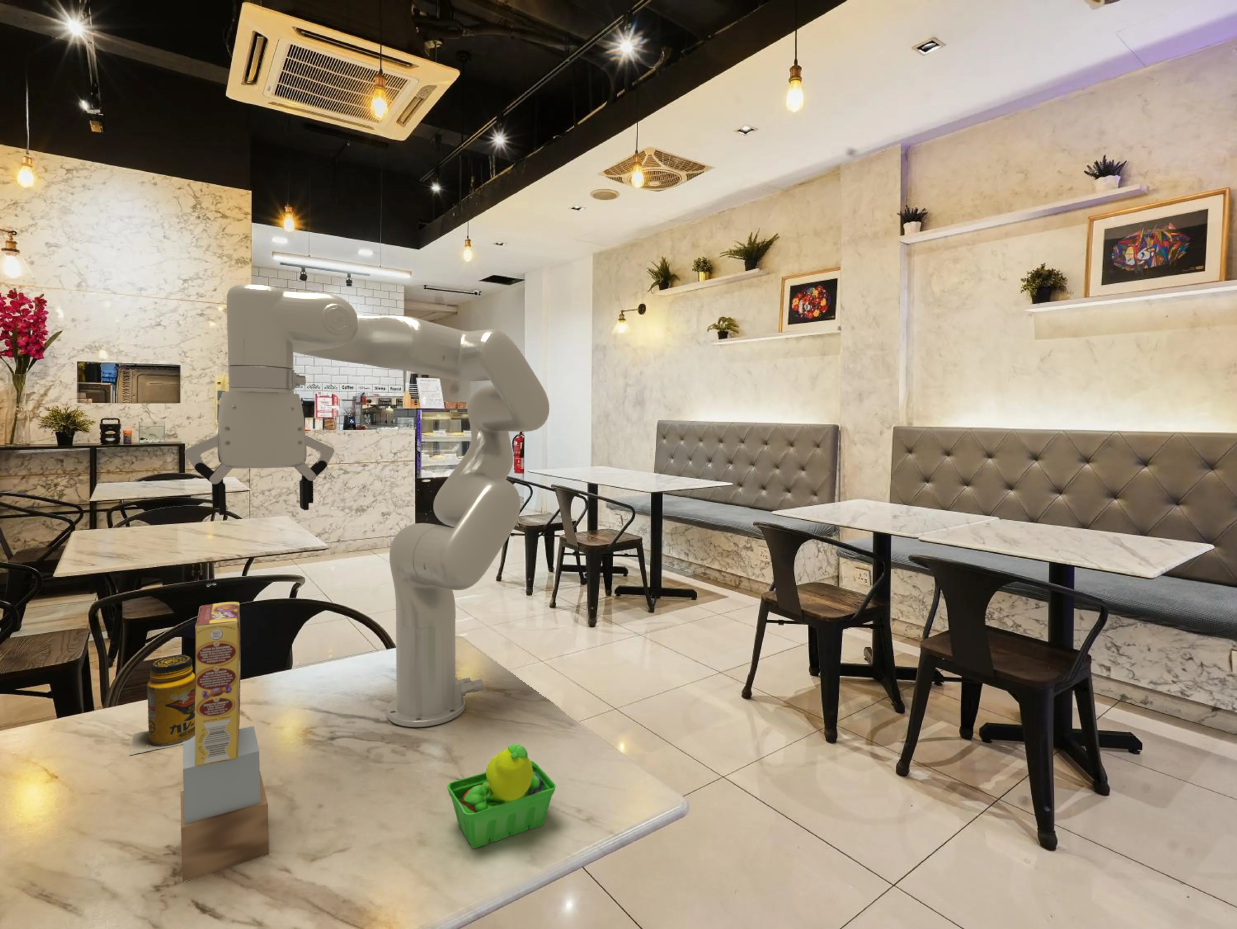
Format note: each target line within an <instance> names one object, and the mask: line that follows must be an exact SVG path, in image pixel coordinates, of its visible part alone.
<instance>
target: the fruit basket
mask: <svg viewBox="0 0 1237 929" xmlns="http://www.w3.org/2000/svg"><path fill="white" fill-rule="evenodd" d="M528 756H529V755H528V751H527V749H526V748H525V747H524V746H522V745H521V744H517V743H512V744H510V745H509V746H508V747H507V748H504V749H503V750H502V751H500V752H498V753H496V755H495V756H493V757H492V758H491V759H490V760H489V762H488V764H487V767H486V771H485V772H482V773H478V774H475V775H473V776H468V777H465V778H464V777H463V778H461V779H457V780H454V781H451V782H449V783H448V784H447V786H446V787H447V790H448V795H449V796H450V798H451V802H452V804H453V809H454V812H455V815H456V816H455V817H456V820H457V824H458V827H459V828H460V829H461V830H462V833H463V835H464V837H465V838H466V840H467V841H468V842H469V843H470V846H471V848H472V849H478V848H480V847H484V846H486V845H488V844H489V843H495V842H497V841H500V840H503V839H506V838H507V837H509V836H515V835H518V834H521V833H524V832H526V831H527V830H528V829H529V830H531V829H535V828H538V827H541V826H543V825H544V824H545V821H546V817H547V814H548V810H549V806H550V803H551V799H552V796H553V795H554V793H555V791H556V787H557V786H556V783H555V782H554V781H552V779H551V778H550V777H549V775H547V774H546V772H544V770H543V769H542V767H540V766H539V765H538V764H537V763H536V762H534V761H533V760H531V759H530V758H529V757H528Z"/></svg>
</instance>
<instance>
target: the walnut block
mask: <svg viewBox="0 0 1237 929" xmlns="http://www.w3.org/2000/svg"><path fill="white" fill-rule="evenodd" d="M179 796H180V839H181V840H180V844H181V868H182V869H181V872H182V873H181V875H182V880H181V881H182V883H184V881H185V882H188V881H190V879H191V880H194V879H196V878H199V877H202V876H206V875H210V874H212V873H215V872H218V871H220V870H224V869H227V868H230V867H233V866H236V865H239V864H242V863H246V862H249V861H251V860H255V859H258V858H261V857H264V856H267V855H269V854H270V847H269V846H270V843H269V842H270V841H269V840H270V839H269V838H270V837H269V836H270V835H269V802H268V798H267V794H266V791H265V785H264V782H263V777H262V774H261V772H260V803H259V804H256V805H252V806H248V807H245V808H241V809H238V810H234V811H231V812H227V813H223V814H220V815H216V816H213V817H209V818H205V819H202V820H198V821H195V822H191V823H187V824H184V790H182V791H180V793H179ZM193 878H194V879H193ZM186 880H187V881H186Z"/></svg>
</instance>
